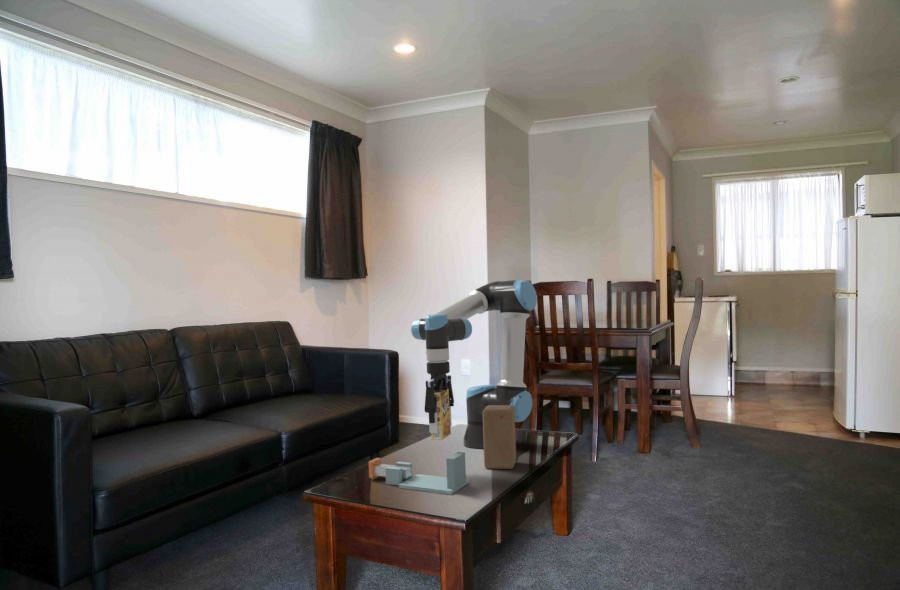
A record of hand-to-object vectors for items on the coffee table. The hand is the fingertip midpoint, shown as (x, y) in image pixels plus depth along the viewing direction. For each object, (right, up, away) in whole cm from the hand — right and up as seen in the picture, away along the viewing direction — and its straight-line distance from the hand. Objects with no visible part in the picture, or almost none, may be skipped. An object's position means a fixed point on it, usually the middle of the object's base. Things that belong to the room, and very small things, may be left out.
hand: (440, 429), depth 198 cm
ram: (-16, -15, -4) cm, 22 cm away
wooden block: (+20, -15, +8) cm, 26 cm away
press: (-5, -15, -10) cm, 19 cm away
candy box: (0, -3, 0) cm, 3 cm away
